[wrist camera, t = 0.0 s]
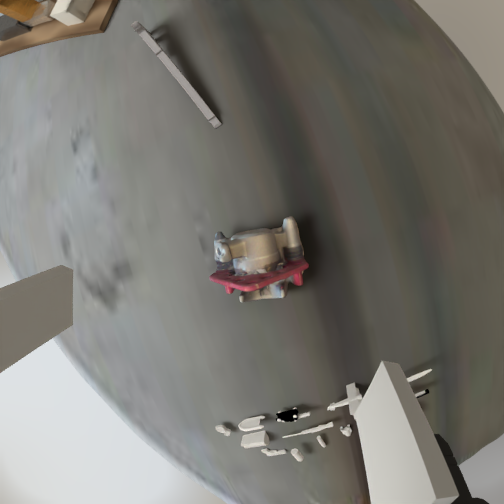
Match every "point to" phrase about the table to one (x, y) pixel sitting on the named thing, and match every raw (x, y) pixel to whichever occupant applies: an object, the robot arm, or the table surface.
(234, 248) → the brake caliper
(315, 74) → the table surface
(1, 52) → the base board
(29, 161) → the table surface
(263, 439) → the miniature set
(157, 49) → the caliper
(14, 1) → the stacked block assembly
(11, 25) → the outer sleeve
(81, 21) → the socket block
